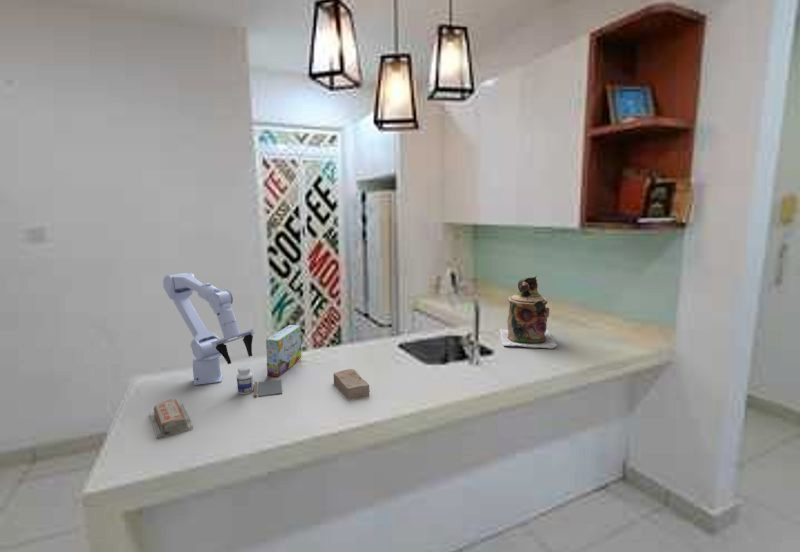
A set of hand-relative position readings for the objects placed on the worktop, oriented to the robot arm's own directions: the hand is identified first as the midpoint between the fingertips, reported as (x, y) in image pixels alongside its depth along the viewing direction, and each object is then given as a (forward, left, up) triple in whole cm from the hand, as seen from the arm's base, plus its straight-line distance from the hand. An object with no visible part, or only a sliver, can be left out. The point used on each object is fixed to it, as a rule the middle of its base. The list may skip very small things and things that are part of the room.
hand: (240, 360), depth 161 cm
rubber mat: (+10, -1, -12) cm, 15 cm away
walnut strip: (+5, -1, -12) cm, 13 cm away
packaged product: (-20, -17, -12) cm, 29 cm away
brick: (+38, -10, -12) cm, 41 cm away
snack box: (+16, +19, -12) cm, 27 cm away
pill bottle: (+1, -1, -12) cm, 12 cm away
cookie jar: (+129, +19, -12) cm, 131 cm away
